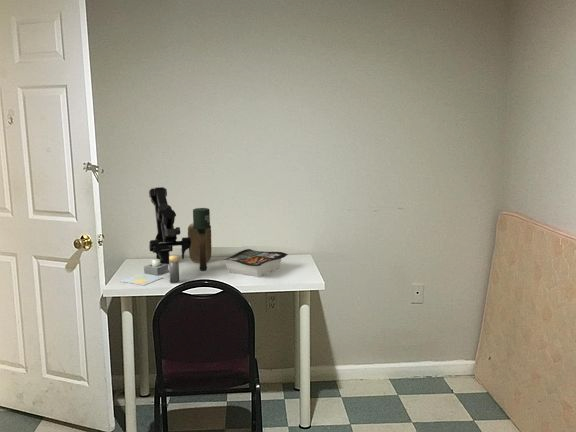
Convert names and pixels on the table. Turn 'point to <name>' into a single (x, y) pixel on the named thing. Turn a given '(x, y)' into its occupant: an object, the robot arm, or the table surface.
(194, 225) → the potato masher grenade
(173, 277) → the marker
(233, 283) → the table surface
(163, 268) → the button housing
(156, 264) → the button cap
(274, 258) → the food packaging
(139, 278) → the worksheet
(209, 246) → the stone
